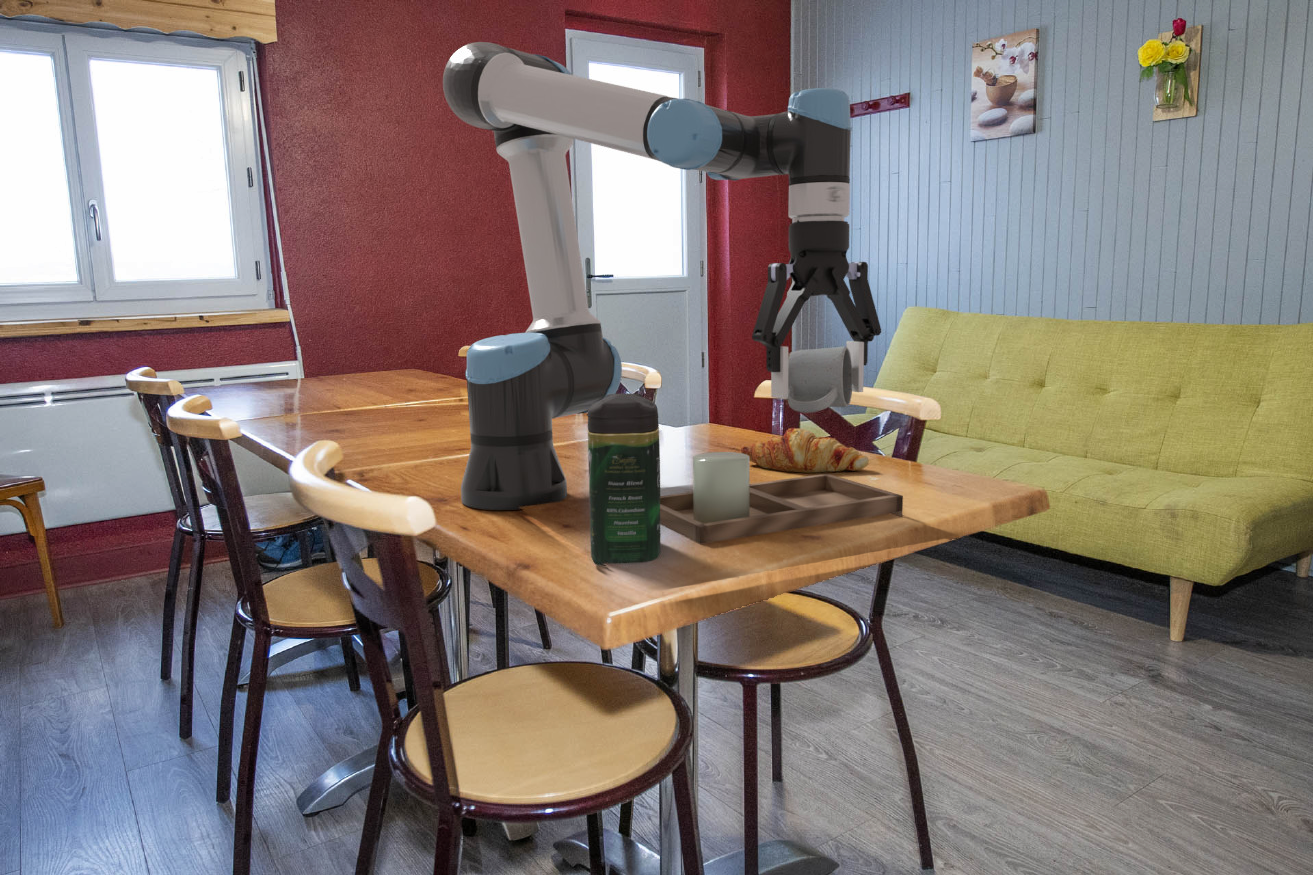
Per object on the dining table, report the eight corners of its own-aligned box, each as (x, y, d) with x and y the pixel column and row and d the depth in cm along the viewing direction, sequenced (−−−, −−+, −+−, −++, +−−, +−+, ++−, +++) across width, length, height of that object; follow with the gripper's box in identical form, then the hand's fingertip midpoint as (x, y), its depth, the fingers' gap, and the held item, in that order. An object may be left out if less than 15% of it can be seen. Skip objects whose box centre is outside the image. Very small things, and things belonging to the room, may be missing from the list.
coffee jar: (662, 571, 100) (658, 399, 97) (588, 572, 100) (582, 401, 97) (661, 545, 110) (658, 388, 107) (594, 547, 110) (589, 390, 107)
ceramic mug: (792, 401, 126) (791, 344, 125) (853, 402, 123) (853, 344, 122) (774, 413, 116) (773, 352, 115) (840, 415, 114) (840, 352, 112)
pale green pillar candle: (710, 529, 112) (710, 464, 111) (683, 517, 118) (682, 455, 117) (760, 522, 115) (760, 458, 114) (731, 510, 121) (731, 449, 120)
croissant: (870, 489, 151) (876, 443, 154) (862, 472, 142) (868, 422, 145) (744, 479, 159) (751, 435, 161) (729, 462, 150) (736, 415, 152)
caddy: (699, 552, 107) (699, 526, 106) (640, 521, 121) (639, 498, 120) (902, 518, 119) (902, 495, 119) (827, 494, 134) (827, 473, 133)
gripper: (755, 217, 109) (756, 404, 112) (912, 219, 119) (908, 390, 122) (722, 222, 115) (724, 398, 119) (874, 223, 125) (871, 385, 129)
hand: (817, 394), depth 121 cm, fingers closed on ceramic mug, 11 cm apart
